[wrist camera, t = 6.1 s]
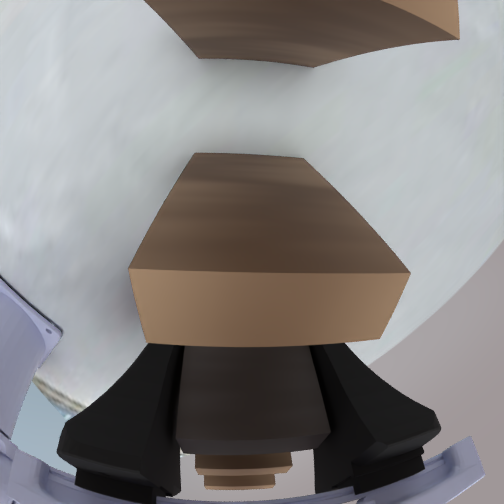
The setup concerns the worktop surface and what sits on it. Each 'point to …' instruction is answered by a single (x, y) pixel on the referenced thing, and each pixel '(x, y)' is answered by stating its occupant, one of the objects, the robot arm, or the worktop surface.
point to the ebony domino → (249, 401)
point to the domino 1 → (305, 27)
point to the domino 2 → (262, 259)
